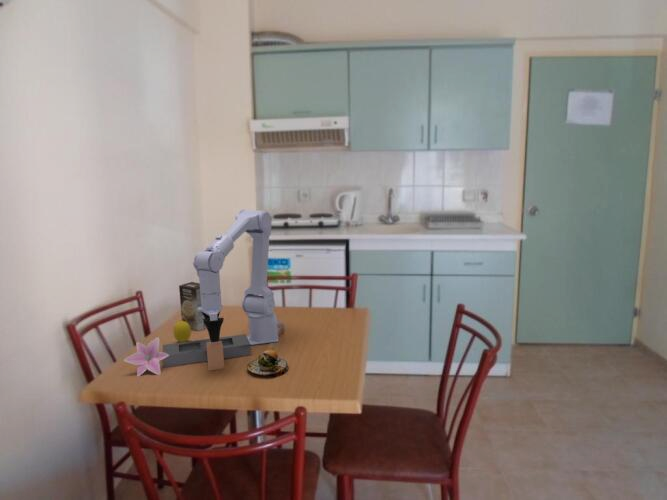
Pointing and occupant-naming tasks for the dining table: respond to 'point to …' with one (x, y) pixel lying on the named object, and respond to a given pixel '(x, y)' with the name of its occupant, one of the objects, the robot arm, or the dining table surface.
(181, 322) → the lemon
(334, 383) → the dining table surface
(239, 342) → the grey slotted board
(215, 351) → the peg
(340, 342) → the dining table surface
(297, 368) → the dining table surface
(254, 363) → the burger
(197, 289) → the coffee box
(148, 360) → the lily
